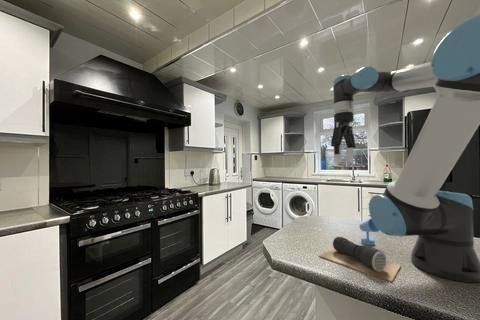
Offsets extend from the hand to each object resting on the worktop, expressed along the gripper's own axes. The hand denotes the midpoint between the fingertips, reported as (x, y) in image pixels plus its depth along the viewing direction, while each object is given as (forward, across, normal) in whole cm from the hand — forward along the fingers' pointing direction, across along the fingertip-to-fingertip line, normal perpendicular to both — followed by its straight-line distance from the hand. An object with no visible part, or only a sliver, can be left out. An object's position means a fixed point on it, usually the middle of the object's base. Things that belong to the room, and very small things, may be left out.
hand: (344, 162), depth 87 cm
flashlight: (+31, +20, +11) cm, 39 cm away
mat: (+32, +20, +11) cm, 39 cm away
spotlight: (+32, +1, +9) cm, 33 cm away
